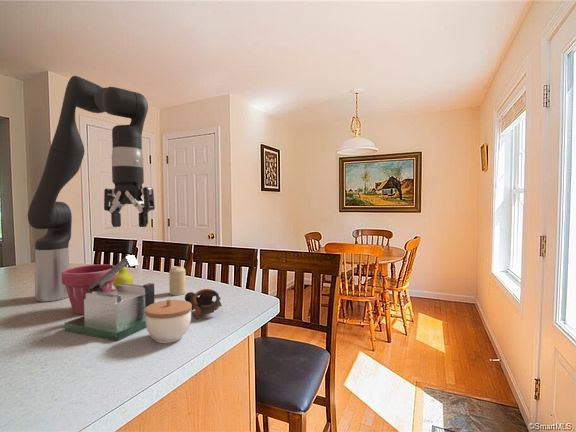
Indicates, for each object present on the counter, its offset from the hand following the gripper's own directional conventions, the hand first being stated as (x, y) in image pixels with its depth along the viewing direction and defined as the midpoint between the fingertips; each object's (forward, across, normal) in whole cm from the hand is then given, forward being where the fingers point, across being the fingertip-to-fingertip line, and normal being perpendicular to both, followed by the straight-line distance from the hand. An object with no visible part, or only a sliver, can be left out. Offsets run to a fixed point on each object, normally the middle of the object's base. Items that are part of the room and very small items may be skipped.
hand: (129, 226), depth 85 cm
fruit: (+26, +28, -27) cm, 47 cm away
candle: (+26, +6, -29) cm, 40 cm away
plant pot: (+26, +21, -6) cm, 34 cm away
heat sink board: (+26, +4, +1) cm, 27 cm away
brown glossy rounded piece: (+27, -14, -13) cm, 33 cm away
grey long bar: (+15, +4, +1) cm, 15 cm away
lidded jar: (+27, -15, +5) cm, 31 cm away
